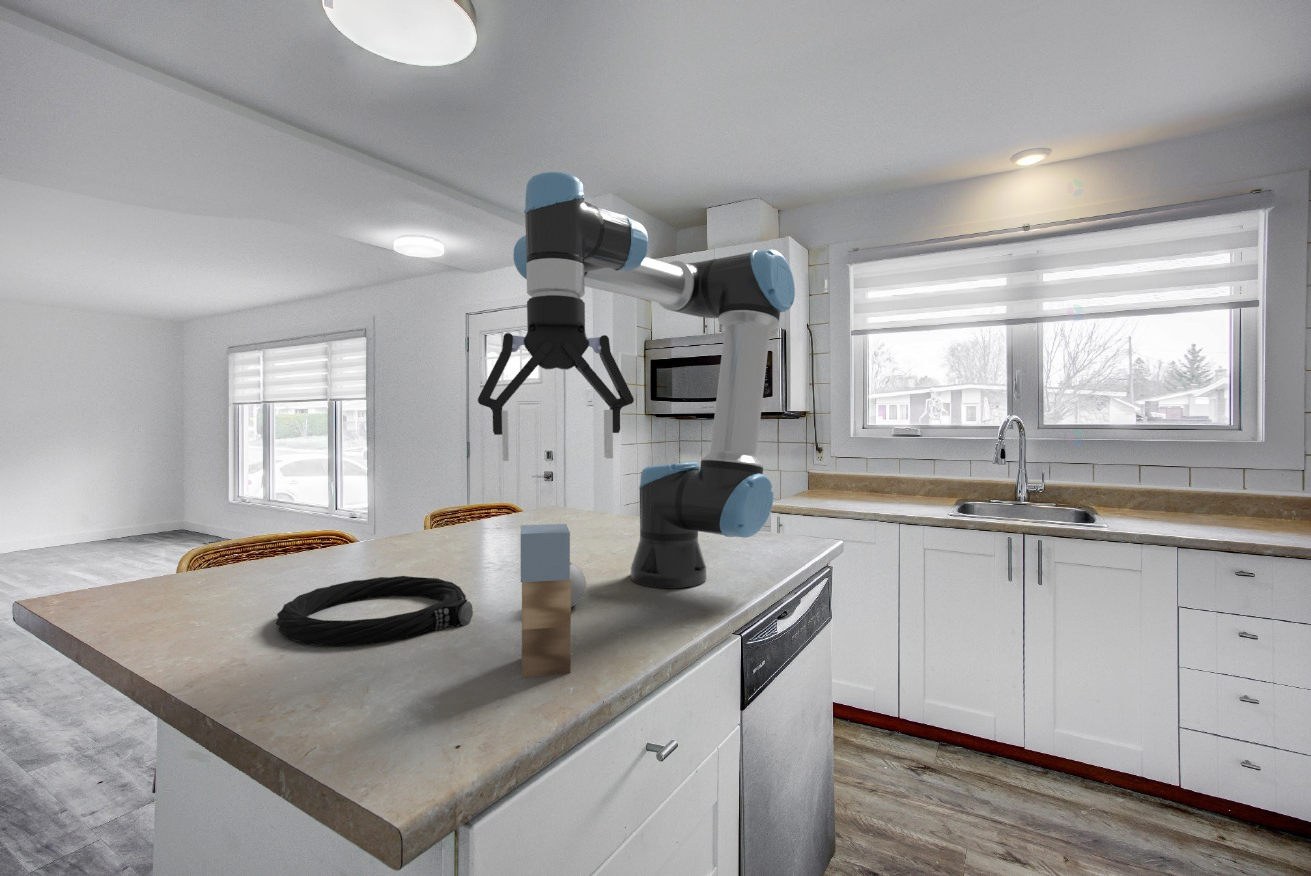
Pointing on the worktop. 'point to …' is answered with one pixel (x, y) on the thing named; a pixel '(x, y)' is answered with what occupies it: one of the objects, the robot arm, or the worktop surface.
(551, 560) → the slate block
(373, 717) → the worktop surface
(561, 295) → the robot arm
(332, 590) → the ring
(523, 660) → the tower lower block
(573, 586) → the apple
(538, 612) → the tower upper block
